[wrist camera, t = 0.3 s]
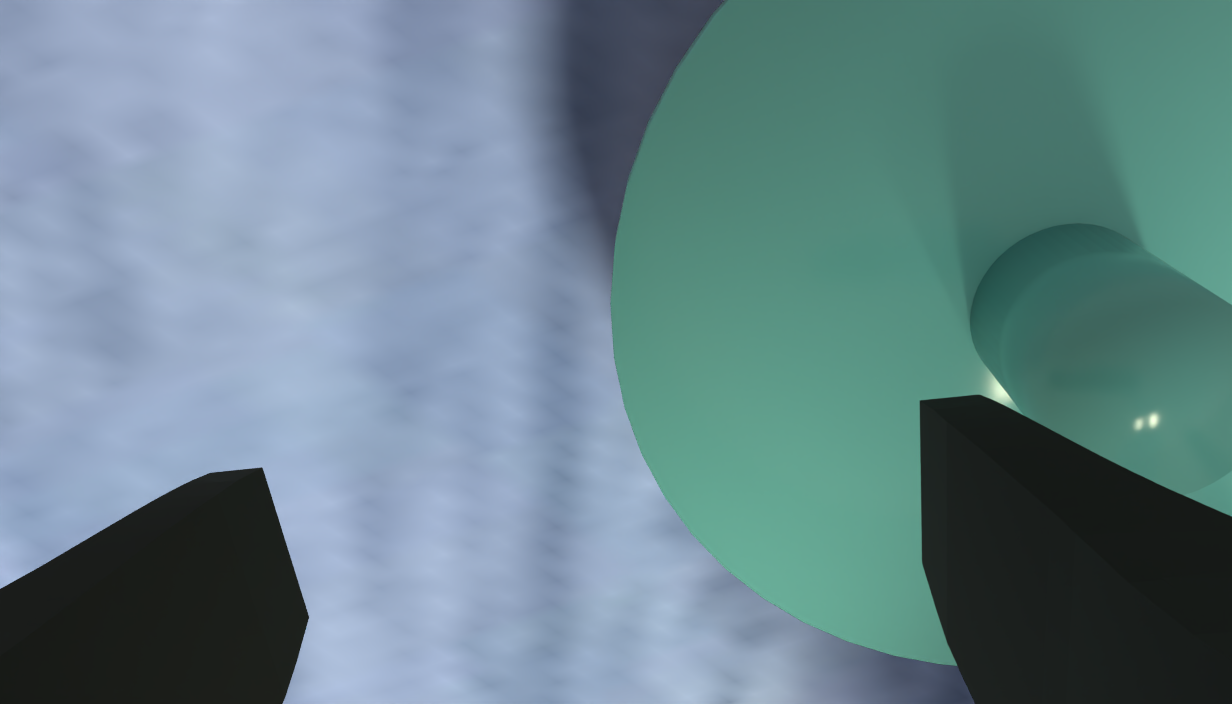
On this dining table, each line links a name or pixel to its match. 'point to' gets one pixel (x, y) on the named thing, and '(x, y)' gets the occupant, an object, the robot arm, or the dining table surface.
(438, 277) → the dining table surface
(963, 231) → the lid
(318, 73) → the dining table surface
